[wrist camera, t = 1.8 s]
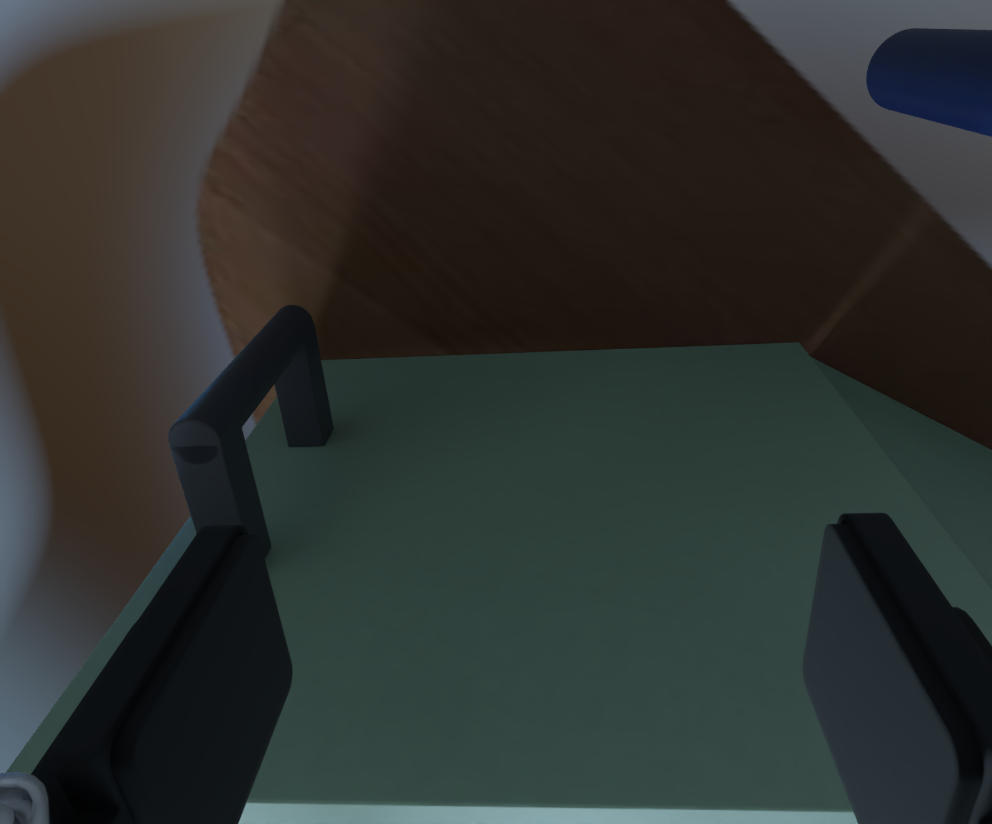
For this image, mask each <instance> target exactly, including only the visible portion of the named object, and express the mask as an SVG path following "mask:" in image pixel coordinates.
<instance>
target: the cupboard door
mask: <svg viewBox="0 0 992 824" xmlns="http://www.w3.org/2000/svg"><path fill="white" fill-rule="evenodd" d="M274 384H275V389H276V393H277V397H276V398H275V400H274V401H273V403H272V404H271V405H270V407H269V408H268V410H267V411H266V412H265V414H264V415H263V416H262V418H261V419H260V421H259V422H258V423H257V425H256V426H255V428H254V429H253V430H252V432H251V433H250V435H249V436H248V438H247V439H246V440H245V439H244V435H243V431H242V426H243V425H244V424H245V422H246V421H247V420H248V418H249V417H250V416H251V414H252V413H253V412H254V410H255V409H256V408H257V406H258V405H259V404H260V402H261V401H262V400H263V398H264V397H265V396H266V394H267V393H268V392H269V390H270V389H271V388H272V386H273V385H274ZM169 444H170V449H171V452H172V456H173V459H174V462H175V465H176V469H177V471H178V475H179V478H180V482H181V485H182V488H183V491H184V495H185V498H186V501H187V504H188V508H189V511H190V514H191V516H190V518H189V519H188V521H187V522H186V523H185V525H184V526H183V527H182V529H181V530H180V532H179V533H178V534H177V536H176V537H175V539H174V540H173V541H172V543H171V544H170V546H169V547H168V549H167V550H166V551H165V553H164V554H163V555H162V557H161V558H160V559H159V561H158V562H157V564H156V565H155V566H154V568H153V569H152V570H151V572H150V573H149V575H148V576H147V577H146V579H145V580H144V582H143V583H142V584H141V586H140V587H139V589H138V590H137V591H136V593H135V594H134V595H133V597H132V598H131V600H130V601H129V602H128V604H127V605H126V607H125V608H124V610H123V611H122V612H121V614H120V615H119V616H118V618H117V619H116V620H115V622H114V623H113V625H112V626H111V627H110V629H109V630H108V632H107V633H106V634H105V636H104V637H103V639H102V640H101V641H100V643H99V644H98V645H97V647H96V648H95V650H94V651H93V653H92V654H91V655H90V656H89V658H88V659H87V661H86V662H85V663H84V665H83V666H82V668H81V669H80V670H79V672H78V673H77V675H76V676H75V677H74V679H73V680H72V681H71V683H70V684H69V686H68V687H67V689H66V690H65V691H64V693H63V694H62V695H61V697H60V698H59V699H58V701H57V702H56V704H55V705H54V706H53V708H52V709H51V711H50V712H49V713H48V715H47V716H46V718H45V719H44V720H43V722H42V723H41V724H40V726H39V727H38V729H37V730H36V731H35V733H34V734H33V736H32V737H31V738H30V740H29V741H28V742H27V744H26V746H25V747H24V748H23V750H22V751H21V752H20V754H19V755H18V756H17V758H16V759H15V761H14V762H13V763H12V765H11V766H10V768H9V769H8V770H7V772H6V773H11V772H21V773H26V774H31V773H32V772H33V770H34V769H35V767H36V766H37V764H38V763H39V761H40V760H41V758H42V757H43V755H44V754H45V753H46V751H47V750H48V748H49V747H50V745H51V744H52V742H53V741H54V739H55V738H56V737H57V735H58V734H59V732H60V731H61V729H62V728H63V726H64V725H65V723H66V722H67V721H68V719H69V718H70V716H71V715H72V713H73V712H74V710H75V709H76V707H77V706H78V704H79V703H80V702H81V700H82V699H83V697H84V696H85V694H86V693H87V691H88V690H89V688H90V687H91V686H92V684H93V683H94V681H95V680H96V678H97V677H98V675H99V674H100V672H101V671H102V669H103V668H104V667H105V665H106V664H107V662H108V661H109V659H110V658H111V656H112V655H113V653H114V652H115V651H116V649H117V648H118V646H119V645H120V643H121V642H122V640H123V639H124V637H125V636H126V635H127V633H128V632H129V630H130V629H131V627H132V626H133V625H134V624H135V623H136V621H137V620H138V619H139V618H140V616H141V615H142V613H143V612H144V610H145V609H146V608H147V606H148V605H149V603H150V602H151V600H152V599H153V597H154V596H155V594H156V593H157V591H158V590H159V589H160V587H161V586H162V584H163V583H164V581H165V580H166V578H167V577H168V575H169V574H170V572H171V571H172V570H173V568H174V567H175V565H176V564H177V562H178V561H179V559H180V558H181V556H182V555H183V553H184V552H185V550H186V549H187V548H188V546H189V545H190V543H191V542H192V540H193V539H194V537H195V536H196V534H197V533H198V531H199V530H200V529H201V528H202V527H204V526H216V525H242V526H244V527H245V528H246V529H247V531H248V533H249V534H254V535H257V537H258V538H259V540H260V543H261V547H262V551H263V555H264V558H265V562H266V566H267V570H268V574H269V577H270V581H271V585H272V589H273V593H274V597H275V600H276V604H277V608H278V612H279V616H280V619H281V623H282V627H283V631H284V635H285V638H286V642H287V646H288V650H289V654H290V658H291V661H292V667H293V676H292V684H291V688H290V691H289V693H288V696H287V699H286V701H285V704H284V706H283V709H282V712H281V714H280V717H279V719H278V722H277V725H276V727H275V730H274V732H273V735H272V738H271V740H270V743H269V745H268V748H267V751H266V753H265V756H264V758H263V761H262V763H261V766H260V769H259V771H258V774H257V776H256V779H255V782H254V784H253V787H252V789H251V792H250V795H249V797H248V800H247V802H246V805H245V808H244V810H243V813H242V815H241V818H240V821H239V823H238V824H858V823H857V820H856V817H855V815H854V812H853V810H852V807H851V804H850V802H849V799H848V797H847V794H846V791H845V789H844V786H843V784H842V781H841V779H840V776H839V773H838V771H837V768H836V766H835V763H834V760H833V758H832V755H831V753H830V750H829V747H828V745H827V742H826V740H825V737H824V734H823V732H822V729H821V727H820V724H819V721H818V719H817V716H816V714H815V711H814V708H813V706H812V703H811V701H810V698H809V695H808V693H807V690H806V687H805V683H804V678H803V658H804V652H805V645H806V639H807V633H808V627H809V621H810V615H811V609H812V603H813V596H814V590H815V584H816V578H817V572H818V566H819V560H820V554H821V547H822V541H823V535H824V531H825V528H826V526H827V525H828V524H837V521H838V518H839V517H840V515H842V514H844V513H886V514H888V515H889V516H890V518H891V519H892V520H893V522H894V523H895V524H896V526H897V527H898V529H899V530H900V532H901V533H902V535H903V536H904V538H905V539H906V540H907V542H908V543H909V545H910V546H911V548H912V549H913V551H914V552H915V554H916V555H917V556H918V558H919V559H920V561H921V562H922V564H923V565H924V567H925V568H926V570H927V571H928V572H929V574H930V575H931V577H932V578H933V580H934V581H935V583H936V584H937V585H938V587H939V588H940V590H941V591H942V593H943V594H944V596H945V597H946V599H947V600H948V601H949V603H950V604H951V606H952V607H958V608H960V609H962V610H964V611H966V612H967V614H968V615H969V616H970V617H971V618H972V619H973V620H974V622H975V623H976V624H977V626H978V627H979V629H980V630H981V631H982V633H983V634H984V636H985V637H986V639H987V640H988V641H989V643H990V644H991V646H992V590H991V589H990V587H989V586H988V585H987V584H986V582H985V581H984V580H983V578H982V577H981V576H980V574H979V573H978V572H977V571H976V569H975V568H974V567H973V565H972V564H971V563H970V562H969V560H968V559H967V558H966V556H965V555H964V554H963V553H962V551H961V550H960V549H959V547H958V546H957V545H956V544H955V542H954V541H953V540H952V538H951V537H950V536H949V535H948V533H947V532H946V531H945V529H944V528H943V527H942V526H941V524H940V523H939V522H938V520H937V519H936V518H935V517H934V515H933V514H932V513H931V511H930V510H929V509H928V508H927V506H926V505H925V504H924V502H923V501H922V500H921V499H920V497H919V496H918V495H917V493H916V492H915V491H914V490H913V488H912V487H911V486H910V484H909V483H908V482H907V481H906V479H905V478H904V477H903V475H902V474H901V473H900V472H899V470H898V469H897V468H896V466H895V465H894V464H893V463H892V461H891V460H890V459H889V457H888V456H887V455H886V454H885V452H884V451H883V450H882V448H881V447H880V446H879V445H878V443H877V442H876V441H875V439H874V438H873V437H872V436H871V434H870V433H869V432H868V430H867V429H866V428H865V427H864V425H863V424H862V423H861V421H860V420H859V419H858V418H857V416H856V415H855V414H854V412H853V411H852V410H851V409H850V407H849V406H848V405H847V403H846V402H845V401H844V400H843V398H842V397H841V396H840V394H839V393H838V392H837V391H836V389H835V388H834V387H833V385H832V384H831V383H830V382H829V380H828V379H827V378H826V376H825V375H824V374H823V373H822V371H821V370H820V369H819V367H818V366H817V365H816V364H815V362H814V361H813V360H812V358H811V357H810V356H809V355H808V353H807V352H806V351H805V349H804V348H803V347H802V346H801V344H800V343H798V342H797V343H770V344H743V345H716V346H689V347H662V348H635V349H608V350H582V351H555V352H528V353H501V354H474V355H447V356H420V357H393V358H366V359H339V360H321V357H320V352H319V347H318V341H317V336H316V331H315V326H314V322H313V319H312V317H311V315H310V314H309V313H308V311H306V310H305V309H304V308H302V307H300V306H296V305H288V306H285V307H283V308H281V309H280V310H279V311H278V312H277V313H276V314H275V315H274V317H273V318H272V319H271V320H270V321H269V322H268V323H267V324H266V325H265V326H264V327H263V328H262V329H261V331H260V332H259V333H258V334H257V335H256V336H255V337H254V338H253V339H252V340H251V341H250V342H249V344H248V345H247V346H246V347H245V348H244V349H243V350H242V351H241V352H240V353H239V354H238V355H237V356H236V358H235V359H234V360H233V361H232V362H231V363H230V364H229V365H228V366H227V367H226V368H225V369H224V370H223V372H222V373H221V374H220V375H219V376H218V377H217V378H216V379H215V380H214V381H213V382H212V383H211V385H210V386H209V387H208V388H207V389H206V390H205V391H204V392H203V393H202V394H201V395H200V396H199V398H198V399H197V400H196V401H195V402H194V403H193V404H192V405H191V406H190V407H189V408H188V409H187V410H186V411H185V413H184V414H183V415H182V416H181V417H180V418H179V419H178V420H177V421H176V423H174V424H173V426H172V427H171V428H170V431H169Z"/></svg>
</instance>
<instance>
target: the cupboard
mask: <svg viewBox="0 0 992 824" xmlns="http://www.w3.org/2000/svg"><path fill="white" fill-rule="evenodd" d="M811 358H812V357H811ZM812 360H813V361H814V362H815V364H816V365H817V366H818V367H819V369H820V370H821V371H822V373H823V374H824V375H825V376H826V378H827V379H828V380H829V382H830V383H831V384H832V385H833V387H834V388H835V389H836V391H837V392H838V393H839V394H840V396H841V397H842V398H843V400H844V401H845V402H846V403H847V405H848V406H849V407H850V409H851V410H852V411H853V412H854V414H855V415H856V416H857V418H858V419H859V420H860V421H861V423H862V424H863V425H864V427H865V428H866V429H867V430H868V432H869V433H870V434H871V436H872V437H873V438H874V439H875V441H876V442H877V443H878V445H879V446H880V447H881V448H882V450H883V451H884V452H885V454H886V455H887V456H888V457H889V459H890V460H891V461H892V463H893V464H894V465H895V466H896V468H897V469H898V470H899V472H900V473H901V474H902V475H903V477H904V478H905V479H906V481H907V482H908V483H909V484H910V486H911V487H912V488H913V490H914V491H915V492H916V493H917V495H918V496H919V497H920V499H921V500H922V501H923V502H924V504H925V505H926V506H927V508H928V509H929V510H930V511H931V513H932V514H933V515H934V517H935V518H936V519H937V520H938V522H939V523H940V524H941V526H942V527H943V528H944V529H945V531H946V532H947V533H948V535H949V536H950V537H951V538H952V540H953V541H954V542H955V544H956V545H957V546H958V547H959V549H960V550H961V551H962V553H963V554H964V555H965V556H966V558H967V559H968V560H969V562H970V563H971V564H972V565H973V567H974V568H975V569H976V571H977V572H978V573H979V574H980V576H981V577H982V578H983V580H984V581H985V582H986V584H987V585H988V586H989V587H990V589H991V590H992V450H991V449H989V448H987V447H985V446H983V445H981V444H979V443H977V442H975V441H973V440H971V439H969V438H967V437H965V436H963V435H961V434H960V433H958V432H956V431H954V430H952V429H950V428H948V427H946V426H944V425H942V424H940V423H938V422H936V421H934V420H932V419H930V418H928V417H927V416H925V415H923V414H921V413H919V412H917V411H915V410H913V409H911V408H909V407H907V406H905V405H903V404H901V403H899V402H897V401H896V400H894V399H892V398H890V397H888V396H886V395H884V394H882V393H880V392H878V391H876V390H874V389H872V388H870V387H868V386H866V385H864V384H863V383H861V382H859V381H857V380H855V379H853V378H851V377H849V376H847V375H845V374H843V373H841V372H839V371H837V370H835V369H833V368H832V367H830V366H828V365H826V364H824V363H822V362H820V361H818V360H816V359H814V358H812Z"/></svg>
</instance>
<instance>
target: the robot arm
mask: <svg viewBox="0 0 992 824" xmlns="http://www.w3.org/2000/svg"><path fill="white" fill-rule="evenodd" d="M292 676H293V667H292V661H291V658H290V654H289V650H288V646H287V642H286V638H285V635H284V631H283V627H282V623H281V619H280V616H279V612H278V608H277V604H276V600H275V597H274V593H273V589H272V585H271V581H270V577H269V574H268V570H267V566H266V562H265V558H264V555H263V551H262V547H261V543H260V540H259V538H258V537H257V535H254V534H249V533H248V531H247V529H246V528H245V527H244V526H242V525H216V526H204V527H202V528H201V529H200V530H199V531H198V533H197V534H196V536H195V537H194V539H193V540H192V542H191V543H190V545H189V546H188V548H187V549H186V550H185V552H184V553H183V555H182V556H181V558H180V559H179V561H178V562H177V564H176V565H175V567H174V568H173V570H172V571H171V572H170V574H169V575H168V577H167V578H166V580H165V581H164V583H163V584H162V586H161V587H160V589H159V590H158V591H157V593H156V594H155V596H154V597H153V599H152V600H151V602H150V603H149V605H148V606H147V608H146V609H145V610H144V612H143V613H142V615H141V616H140V618H139V619H138V620H137V621H136V623H135V624H134V625H133V626H132V627H131V629H130V630H129V632H128V633H127V635H126V636H125V637H124V639H123V640H122V642H121V643H120V645H119V646H118V648H117V649H116V651H115V652H114V653H113V655H112V656H111V658H110V659H109V661H108V662H107V664H106V665H105V667H104V668H103V669H102V671H101V672H100V674H99V675H98V677H97V678H96V680H95V681H94V683H93V684H92V686H91V687H90V688H89V690H88V691H87V693H86V694H85V696H84V697H83V699H82V700H81V702H80V703H79V704H78V706H77V707H76V709H75V710H74V712H73V713H72V715H71V716H70V718H69V719H68V721H67V722H66V723H65V725H64V726H63V728H62V729H61V731H60V732H59V734H58V735H57V737H56V738H55V739H54V741H53V742H52V744H51V745H50V747H49V748H48V750H47V751H46V753H45V754H44V755H43V757H42V758H41V760H40V761H39V763H38V764H37V766H36V767H35V769H34V770H33V772H32V773H31V774H26V773H21V772H11V773H1V774H0V824H238V823H239V821H240V818H241V815H242V813H243V810H244V808H245V805H246V802H247V800H248V797H249V795H250V792H251V789H252V787H253V784H254V782H255V779H256V776H257V774H258V771H259V769H260V766H261V763H262V761H263V758H264V756H265V753H266V751H267V748H268V745H269V743H270V740H271V738H272V735H273V732H274V730H275V727H276V725H277V722H278V719H279V717H280V714H281V712H282V709H283V706H284V704H285V701H286V699H287V696H288V693H289V691H290V688H291V684H292ZM803 678H804V683H805V687H806V690H807V693H808V695H809V698H810V701H811V703H812V706H813V708H814V711H815V714H816V716H817V719H818V721H819V724H820V727H821V729H822V732H823V734H824V737H825V740H826V742H827V745H828V747H829V750H830V753H831V755H832V758H833V760H834V763H835V766H836V768H837V771H838V773H839V776H840V779H841V781H842V784H843V786H844V789H845V791H846V794H847V797H848V799H849V802H850V804H851V807H852V810H853V812H854V815H855V817H856V820H857V823H858V824H992V646H991V644H990V643H989V641H988V640H987V639H986V637H985V636H984V634H983V633H982V631H981V630H980V629H979V627H978V626H977V624H976V623H975V622H974V620H973V619H972V618H971V617H970V616H969V615H968V614H967V612H966V611H964V610H962V609H960V608H958V607H952V606H951V604H950V603H949V601H948V600H947V599H946V597H945V596H944V594H943V593H942V591H941V590H940V588H939V587H938V585H937V584H936V583H935V581H934V580H933V578H932V577H931V575H930V574H929V572H928V571H927V570H926V568H925V567H924V565H923V564H922V562H921V561H920V559H919V558H918V556H917V555H916V554H915V552H914V551H913V549H912V548H911V546H910V545H909V543H908V542H907V540H906V539H905V538H904V536H903V535H902V533H901V532H900V530H899V529H898V527H897V526H896V524H895V523H894V522H893V520H892V519H891V518H890V516H889V515H888V514H886V513H844V514H842V515H840V517H839V518H838V521H837V524H828V525H827V526H826V528H825V531H824V535H823V541H822V547H821V554H820V560H819V566H818V572H817V578H816V584H815V590H814V596H813V603H812V609H811V615H810V621H809V627H808V633H807V639H806V645H805V652H804V658H803Z"/></svg>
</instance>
